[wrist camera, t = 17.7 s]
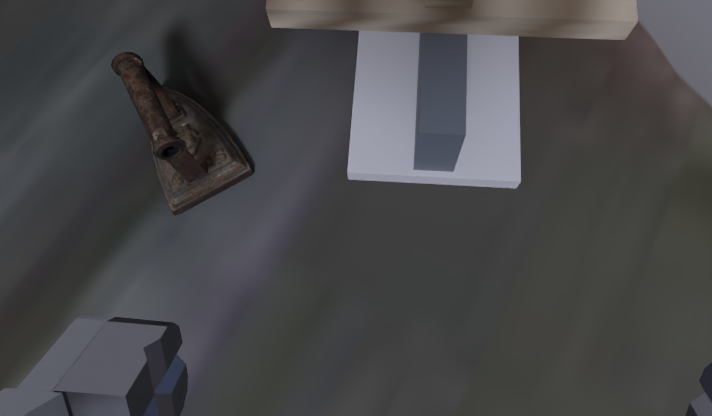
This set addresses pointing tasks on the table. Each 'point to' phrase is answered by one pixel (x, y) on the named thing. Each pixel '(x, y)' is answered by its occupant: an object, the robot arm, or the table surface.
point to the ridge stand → (436, 109)
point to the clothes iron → (182, 139)
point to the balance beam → (462, 16)
